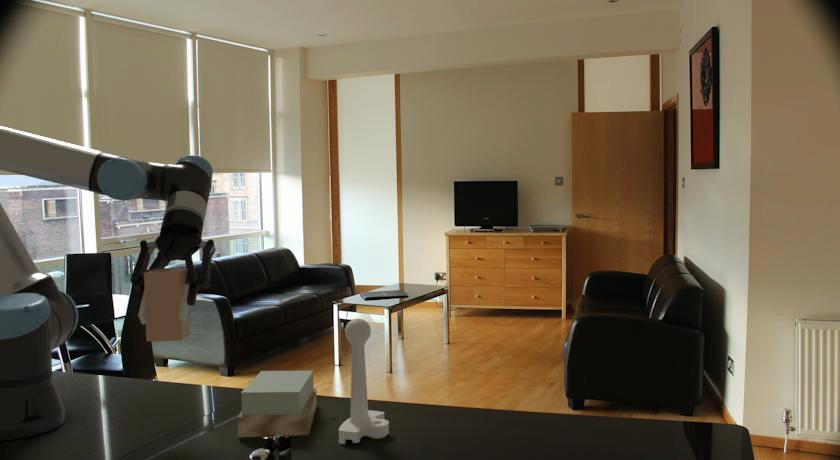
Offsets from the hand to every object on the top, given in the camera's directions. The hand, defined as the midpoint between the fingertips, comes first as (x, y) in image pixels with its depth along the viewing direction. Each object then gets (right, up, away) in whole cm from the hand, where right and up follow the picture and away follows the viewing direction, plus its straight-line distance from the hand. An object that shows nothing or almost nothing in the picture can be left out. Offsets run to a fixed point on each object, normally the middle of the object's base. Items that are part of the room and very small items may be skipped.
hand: (162, 319), depth 121 cm
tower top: (+19, -16, +7) cm, 26 cm away
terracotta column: (0, -4, +4) cm, 5 cm away
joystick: (+35, -20, 0) cm, 41 cm away
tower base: (+19, -20, +7) cm, 28 cm away
